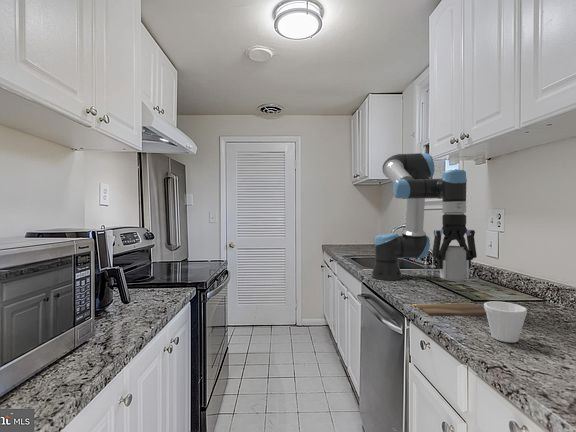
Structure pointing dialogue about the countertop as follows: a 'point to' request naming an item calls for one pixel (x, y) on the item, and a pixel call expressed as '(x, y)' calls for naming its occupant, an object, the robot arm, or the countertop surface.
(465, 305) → the board
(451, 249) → the can
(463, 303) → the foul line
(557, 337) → the countertop surface
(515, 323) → the cup
